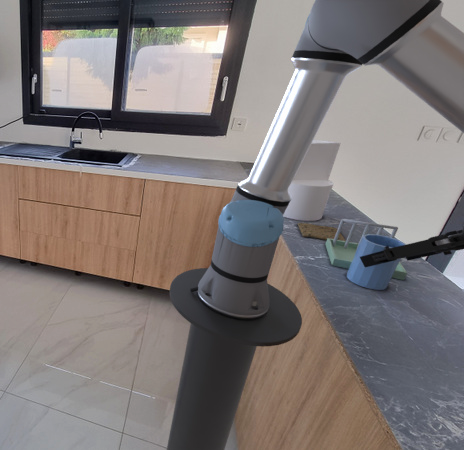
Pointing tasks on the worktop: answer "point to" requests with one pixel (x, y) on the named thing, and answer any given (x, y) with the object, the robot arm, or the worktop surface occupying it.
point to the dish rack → (355, 247)
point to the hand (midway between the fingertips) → (384, 258)
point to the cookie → (319, 231)
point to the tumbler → (376, 274)
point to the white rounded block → (312, 182)
